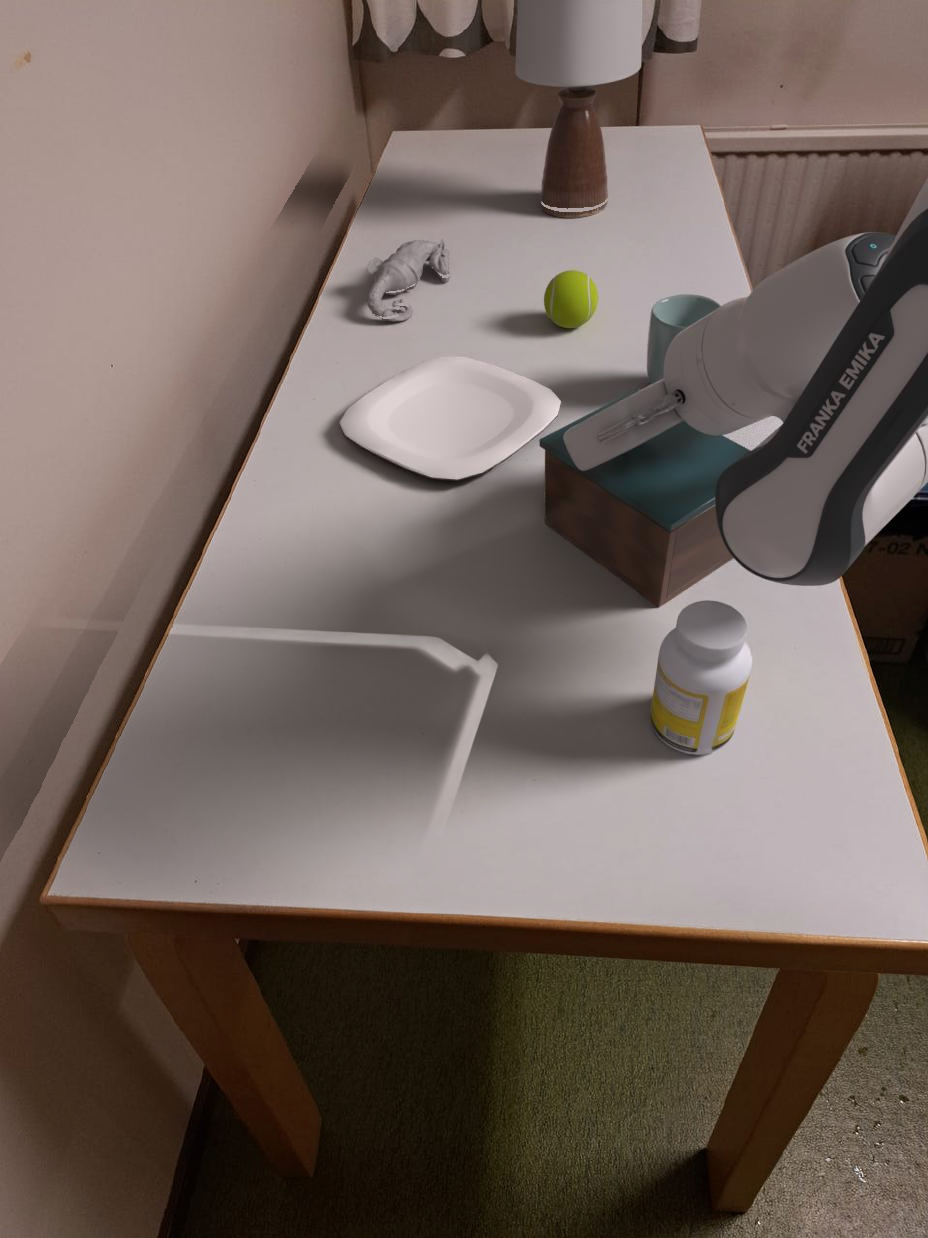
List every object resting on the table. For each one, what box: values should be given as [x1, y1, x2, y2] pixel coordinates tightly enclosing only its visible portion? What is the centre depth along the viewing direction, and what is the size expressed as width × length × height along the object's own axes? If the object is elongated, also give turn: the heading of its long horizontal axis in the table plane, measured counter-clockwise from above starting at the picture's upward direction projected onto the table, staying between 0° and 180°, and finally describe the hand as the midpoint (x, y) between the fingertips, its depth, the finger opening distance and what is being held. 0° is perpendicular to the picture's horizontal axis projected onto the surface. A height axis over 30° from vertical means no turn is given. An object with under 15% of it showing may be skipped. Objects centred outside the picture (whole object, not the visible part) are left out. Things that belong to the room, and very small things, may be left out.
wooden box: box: [544, 450, 734, 608], centre depth 78 cm, size 16×13×9 cm
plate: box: [339, 355, 562, 482], centre depth 96 cm, size 22×22×2 cm
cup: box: [646, 293, 722, 386], centre depth 95 cm, size 8×8×10 cm
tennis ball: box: [543, 269, 599, 329], centre depth 109 cm, size 7×7×7 cm
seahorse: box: [365, 238, 451, 323], centre depth 119 cm, size 5×12×20 cm
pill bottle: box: [650, 599, 753, 755], centre depth 62 cm, size 6×6×12 cm
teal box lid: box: [538, 388, 752, 532], centre depth 75 cm, size 16×13×1 cm
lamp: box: [514, 0, 643, 219], centre depth 125 cm, size 19×19×37 cm
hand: (621, 425), depth 77 cm, fingers closed, pressing on teal box lid
